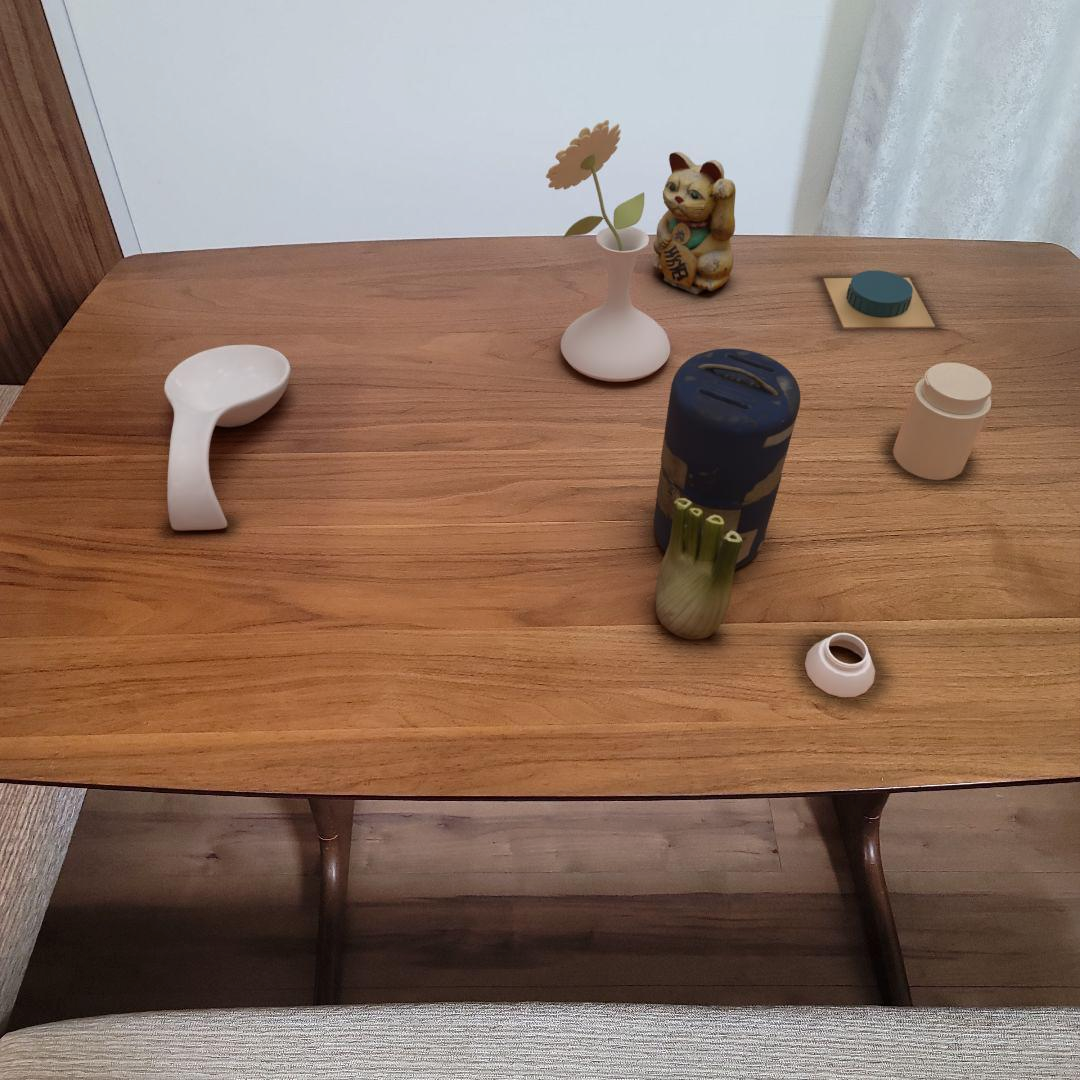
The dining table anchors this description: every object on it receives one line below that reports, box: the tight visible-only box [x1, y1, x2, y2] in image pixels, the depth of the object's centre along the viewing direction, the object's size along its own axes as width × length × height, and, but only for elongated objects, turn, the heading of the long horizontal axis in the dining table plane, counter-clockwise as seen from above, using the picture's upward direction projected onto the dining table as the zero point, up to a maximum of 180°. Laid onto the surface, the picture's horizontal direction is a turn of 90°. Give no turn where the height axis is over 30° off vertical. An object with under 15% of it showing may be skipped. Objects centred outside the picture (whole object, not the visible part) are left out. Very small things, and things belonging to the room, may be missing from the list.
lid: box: [847, 269, 913, 317], centre depth 103 cm, size 7×7×2 cm
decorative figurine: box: [652, 151, 737, 295], centre depth 103 cm, size 10×8×15 cm
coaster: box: [822, 277, 936, 330], centre depth 104 cm, size 10×10×1 cm
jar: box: [892, 361, 993, 481], centre depth 83 cm, size 6×6×9 cm
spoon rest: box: [163, 344, 292, 531], centre depth 86 cm, size 24×12×7 cm, turn 4°
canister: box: [653, 348, 801, 570], centre depth 73 cm, size 10×10×18 cm
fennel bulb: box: [655, 498, 742, 641], centre depth 69 cm, size 6×5×12 cm
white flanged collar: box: [804, 632, 876, 698], centre depth 69 cm, size 5×3×5 cm
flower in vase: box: [545, 119, 671, 383], centre depth 88 cm, size 13×11×25 cm
